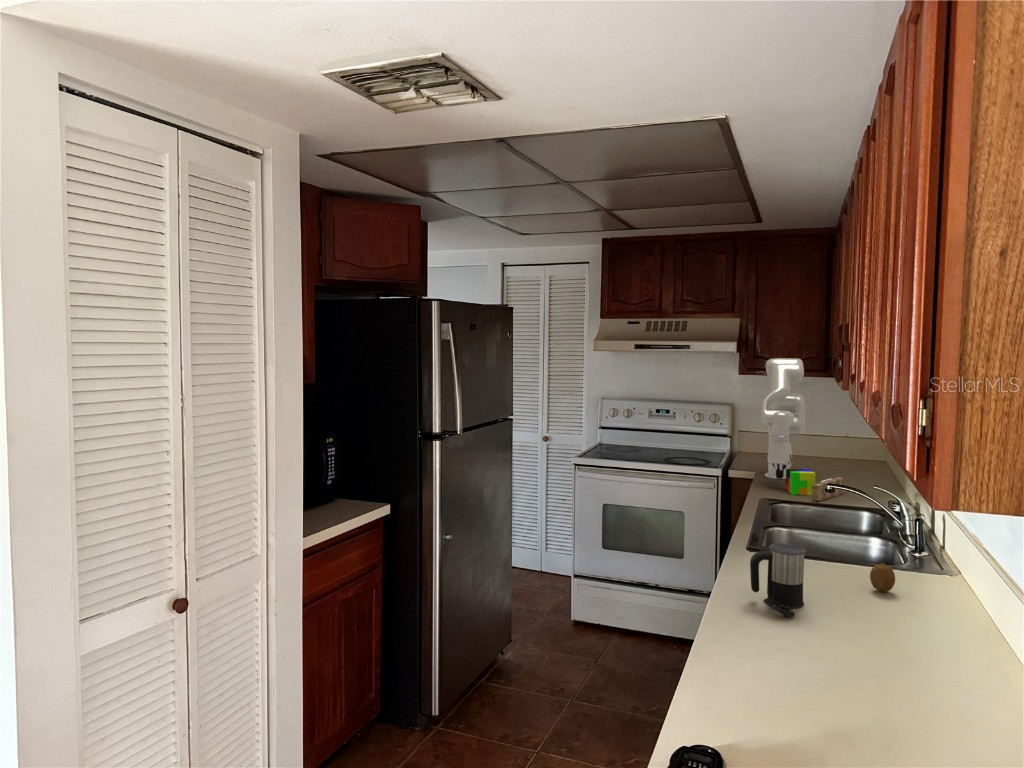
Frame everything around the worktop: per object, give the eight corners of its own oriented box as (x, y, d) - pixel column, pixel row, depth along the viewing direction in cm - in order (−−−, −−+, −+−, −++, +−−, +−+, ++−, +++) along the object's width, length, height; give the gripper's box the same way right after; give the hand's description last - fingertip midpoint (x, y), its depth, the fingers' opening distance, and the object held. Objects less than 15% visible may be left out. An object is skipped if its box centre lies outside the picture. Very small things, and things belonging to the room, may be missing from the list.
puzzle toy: (808, 490, 328) (808, 469, 327) (814, 495, 318) (815, 473, 317) (785, 490, 329) (786, 468, 328) (791, 494, 319) (792, 472, 318)
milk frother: (792, 595, 194) (794, 542, 193) (826, 617, 179) (827, 559, 178) (743, 598, 192) (744, 544, 191) (773, 621, 177) (774, 562, 176)
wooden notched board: (838, 492, 324) (838, 475, 323) (843, 493, 322) (844, 476, 321) (811, 501, 306) (812, 483, 306) (817, 502, 304) (818, 484, 304)
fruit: (880, 596, 193) (881, 567, 193) (864, 588, 199) (865, 560, 199) (900, 594, 195) (901, 566, 194) (883, 587, 201) (884, 559, 200)
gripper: (761, 438, 332) (760, 476, 333) (791, 441, 321) (791, 481, 322) (769, 436, 337) (768, 474, 338) (799, 439, 326) (799, 479, 327)
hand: (779, 478), depth 330 cm, fingers closed
